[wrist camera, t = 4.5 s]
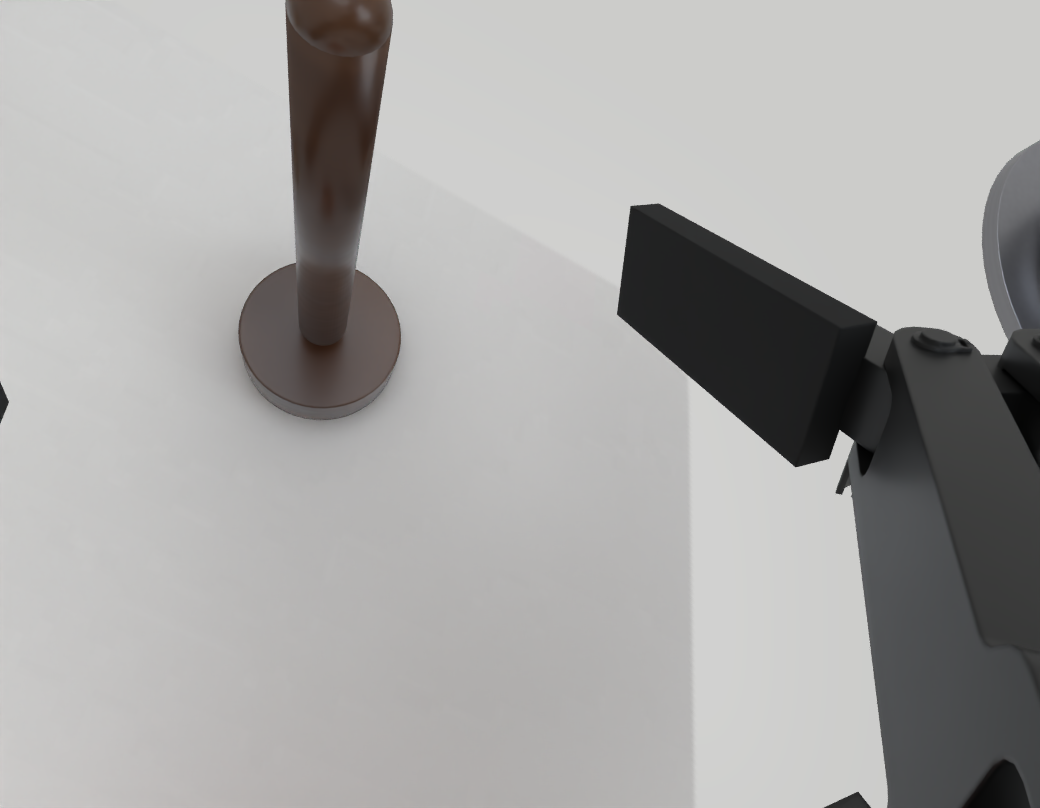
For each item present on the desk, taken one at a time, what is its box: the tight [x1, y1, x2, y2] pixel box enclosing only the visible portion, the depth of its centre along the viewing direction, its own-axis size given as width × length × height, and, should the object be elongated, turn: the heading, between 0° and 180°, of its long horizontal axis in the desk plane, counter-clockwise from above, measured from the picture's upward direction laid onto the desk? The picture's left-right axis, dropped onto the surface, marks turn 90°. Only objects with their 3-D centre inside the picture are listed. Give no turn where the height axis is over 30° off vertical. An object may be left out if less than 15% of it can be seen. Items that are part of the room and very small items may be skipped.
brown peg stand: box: [238, 0, 401, 420], centre depth 18 cm, size 6×6×18 cm
